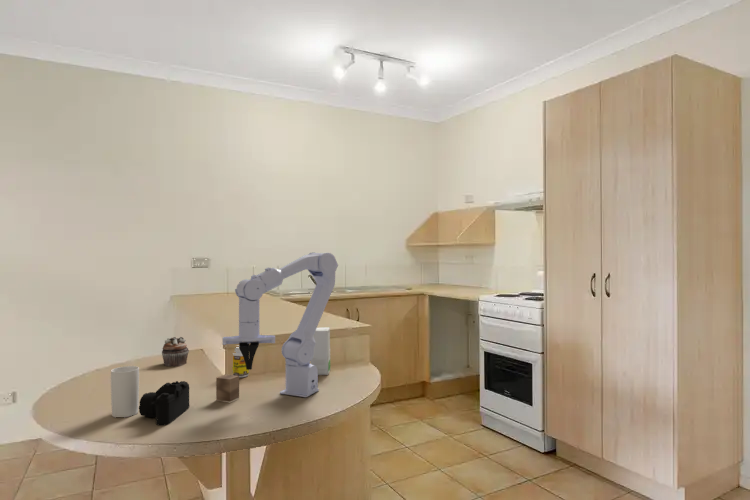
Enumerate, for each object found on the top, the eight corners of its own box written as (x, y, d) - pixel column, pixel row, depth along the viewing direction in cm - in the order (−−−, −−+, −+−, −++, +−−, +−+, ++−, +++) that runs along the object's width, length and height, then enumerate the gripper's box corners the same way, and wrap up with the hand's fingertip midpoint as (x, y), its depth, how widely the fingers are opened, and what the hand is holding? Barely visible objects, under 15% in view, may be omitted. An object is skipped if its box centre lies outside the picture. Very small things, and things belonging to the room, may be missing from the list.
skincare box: (328, 375, 165) (328, 330, 165) (309, 375, 165) (309, 330, 165) (330, 369, 173) (330, 326, 173) (312, 369, 173) (312, 326, 173)
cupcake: (156, 366, 177) (156, 339, 177) (171, 360, 187) (171, 335, 186) (179, 367, 175) (179, 340, 175) (193, 361, 185) (193, 335, 185)
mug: (134, 417, 124) (134, 371, 124) (106, 419, 123) (106, 372, 123) (145, 404, 134) (145, 362, 134) (120, 406, 133) (120, 363, 132)
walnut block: (239, 398, 140) (239, 375, 140) (230, 402, 136) (230, 379, 136) (225, 396, 142) (225, 374, 142) (216, 400, 138) (216, 377, 138)
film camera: (159, 406, 133) (159, 374, 133) (193, 406, 133) (193, 374, 133) (129, 426, 118) (129, 390, 118) (167, 427, 118) (167, 391, 117)
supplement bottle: (231, 378, 161) (231, 348, 161) (233, 374, 166) (233, 345, 166) (247, 377, 162) (247, 347, 162) (249, 373, 167) (249, 344, 167)
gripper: (275, 318, 141) (275, 364, 141) (224, 319, 138) (224, 366, 138) (274, 322, 134) (274, 370, 134) (221, 323, 131) (221, 372, 131)
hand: (249, 368), depth 136 cm, fingers closed
